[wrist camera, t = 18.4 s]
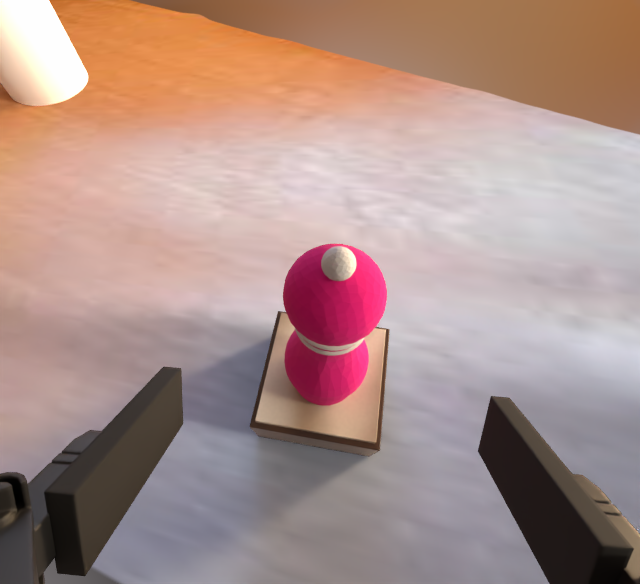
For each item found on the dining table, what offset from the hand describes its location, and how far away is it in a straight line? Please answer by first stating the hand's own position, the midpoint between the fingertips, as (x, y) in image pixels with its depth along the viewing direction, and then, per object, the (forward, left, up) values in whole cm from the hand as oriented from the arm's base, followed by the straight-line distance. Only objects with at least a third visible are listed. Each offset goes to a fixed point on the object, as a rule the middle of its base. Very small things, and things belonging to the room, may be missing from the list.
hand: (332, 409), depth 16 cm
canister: (+37, -71, -26) cm, 84 cm away
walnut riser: (-2, -7, -26) cm, 27 cm away
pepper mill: (-2, -7, -19) cm, 20 cm away
